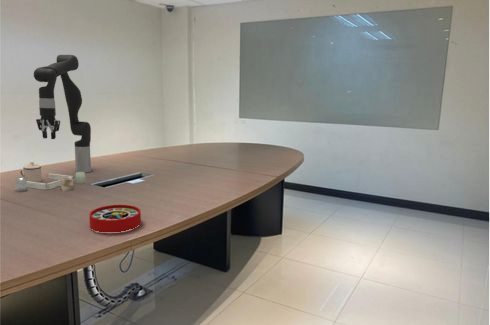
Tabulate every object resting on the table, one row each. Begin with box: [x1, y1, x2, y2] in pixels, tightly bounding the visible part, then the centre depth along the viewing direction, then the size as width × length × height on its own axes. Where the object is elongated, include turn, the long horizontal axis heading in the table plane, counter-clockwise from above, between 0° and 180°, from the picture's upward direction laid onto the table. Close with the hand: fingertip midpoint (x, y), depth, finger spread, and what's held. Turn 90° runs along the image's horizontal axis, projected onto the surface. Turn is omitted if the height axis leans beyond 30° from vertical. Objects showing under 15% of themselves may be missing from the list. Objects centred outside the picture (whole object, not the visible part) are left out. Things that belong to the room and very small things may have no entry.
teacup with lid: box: [19, 161, 43, 183], centre depth 209 cm, size 12×9×12 cm
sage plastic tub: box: [75, 171, 86, 185], centre depth 212 cm, size 5×5×6 cm
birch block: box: [60, 178, 74, 192], centre depth 197 cm, size 5×5×6 cm
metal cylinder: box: [14, 176, 28, 193], centre depth 191 cm, size 5×5×7 cm
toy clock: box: [88, 204, 142, 232], centre depth 149 cm, size 20×6×20 cm
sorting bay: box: [27, 173, 76, 191], centre depth 207 cm, size 18×21×3 cm
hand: (49, 138), depth 195 cm, fingers open, 4 cm apart
